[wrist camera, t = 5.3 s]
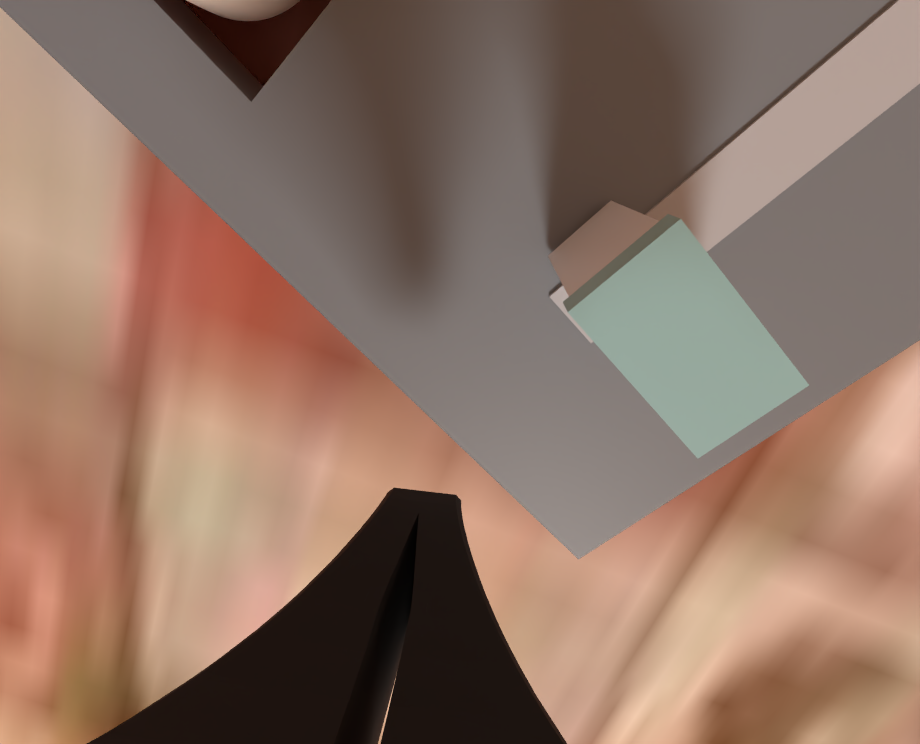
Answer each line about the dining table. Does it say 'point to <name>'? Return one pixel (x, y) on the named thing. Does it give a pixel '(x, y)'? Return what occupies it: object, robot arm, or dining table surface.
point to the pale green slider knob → (673, 325)
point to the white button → (245, 8)
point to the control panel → (545, 196)
